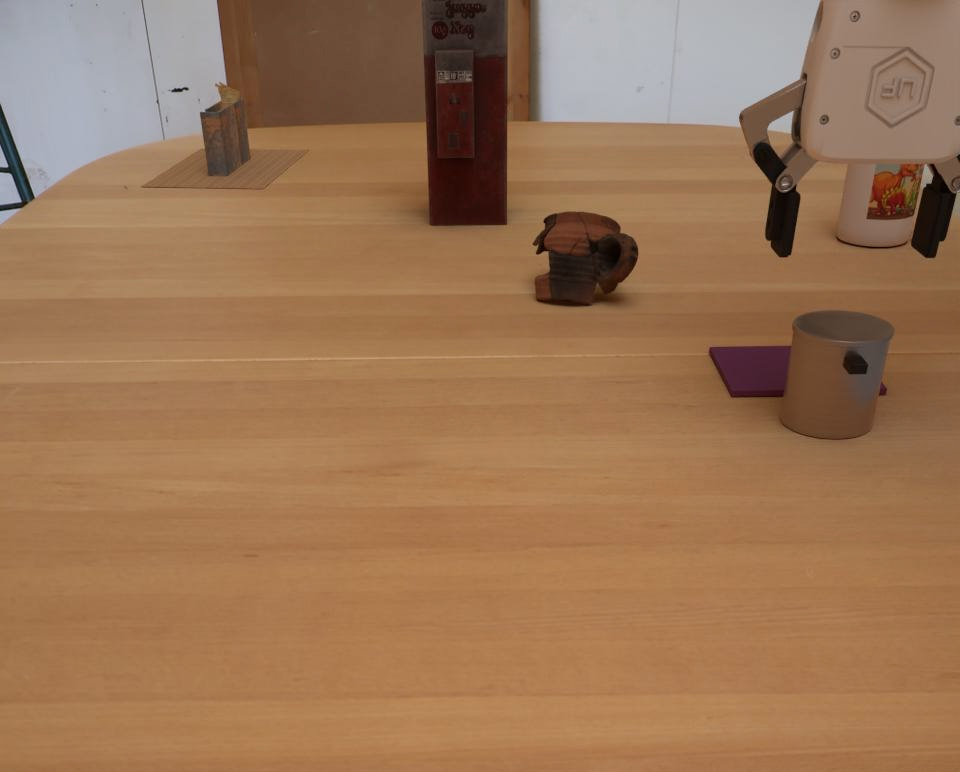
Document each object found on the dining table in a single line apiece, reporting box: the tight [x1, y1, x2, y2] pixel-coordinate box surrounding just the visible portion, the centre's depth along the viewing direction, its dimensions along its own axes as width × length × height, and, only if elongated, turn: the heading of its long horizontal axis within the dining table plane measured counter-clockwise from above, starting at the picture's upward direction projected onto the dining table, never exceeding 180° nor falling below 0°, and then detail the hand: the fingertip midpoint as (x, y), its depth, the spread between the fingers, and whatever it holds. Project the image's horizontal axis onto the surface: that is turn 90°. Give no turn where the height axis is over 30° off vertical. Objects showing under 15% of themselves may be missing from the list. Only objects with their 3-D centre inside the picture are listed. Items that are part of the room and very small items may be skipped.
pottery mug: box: [532, 210, 639, 306], centre depth 107 cm, size 12×10×8 cm
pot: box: [779, 309, 895, 440], centre depth 81 cm, size 7×10×7 cm
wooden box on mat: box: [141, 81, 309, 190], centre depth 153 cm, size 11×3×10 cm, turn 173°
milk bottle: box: [836, 164, 926, 248], centre depth 117 cm, size 8×8×20 cm
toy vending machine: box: [421, 0, 509, 226], centre depth 124 cm, size 9×11×28 cm
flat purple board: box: [708, 345, 888, 398], centre depth 91 cm, size 12×10×1 cm
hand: (851, 252), depth 76 cm, fingers open, 9 cm apart
